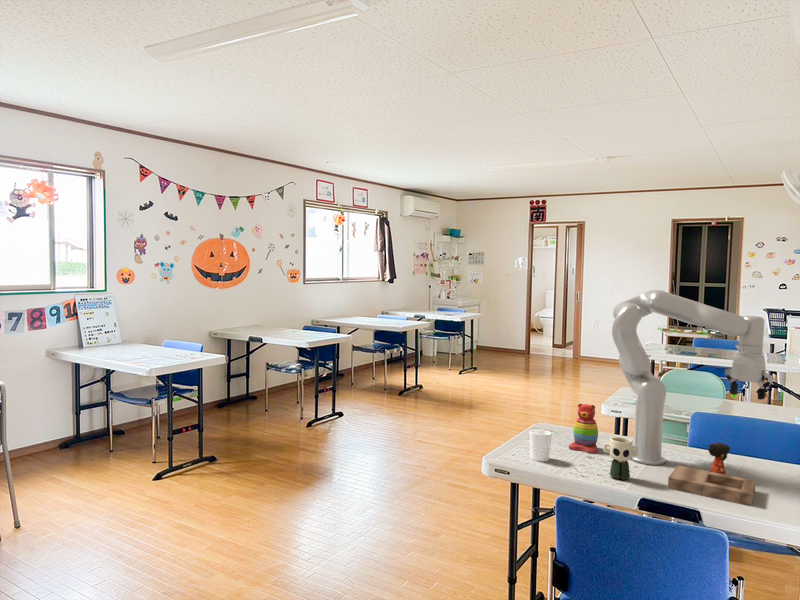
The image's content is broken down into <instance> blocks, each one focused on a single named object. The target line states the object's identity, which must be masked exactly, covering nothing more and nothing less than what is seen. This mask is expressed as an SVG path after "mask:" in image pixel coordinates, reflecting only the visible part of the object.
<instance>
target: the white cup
mask: <svg viewBox="0 0 800 600" xmlns="http://www.w3.org/2000/svg"><path fill="white" fill-rule="evenodd" d="M551 445H552V432H551V431H549V430H546V429H530V430H529V453H530V454H529V456H530V457H529V458H530V459H531V460H532V461H536V462H548V461H549V460H550V451H551Z"/></svg>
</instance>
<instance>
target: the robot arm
mask: <svg viewBox="0 0 800 600" xmlns="http://www.w3.org/2000/svg"><path fill="white" fill-rule="evenodd" d="M652 313H656V314H659V315H662V316H664V317H668V318H671V319H675V320H678V321H680V322H682V323H687V324H690V325H694V326H700V327H705V328H708V329H712V330H716V331H717V332H719V334H723V335H728V336H732V337H738V344H735V347H734V348H735V350H737V351H736V352H735V353H734V356H733V357H734V358H733V359H732V367H729V368H727V369H724V370H723V371H724V374H725V377H726V379H727V380H728V382H729V383H730V387H729V389H730V390H729V391H730V395H737V394H738V387H739V384H738V381H744V382H749V383H756V384H757V385H758V386H759V388H758V389H757V399H758V400H765V398H766V396H767V395H766V393H767V392H766V391H767V389H768V388H769V387H770V386H771V385H772V384H773V382H774V381H775V379H776V378H775V377H774V376H773V375H771V374H769V373H768V372H766V371H767V369H766V359H765V355H764V354H763V349H764V348H763V347H764V335H765V334H764V333H765V319H764V317H762V316H756V315H754V316H753V315H739V314H737V313H734V312H730V311H727V310H724V309H720V308H717V307H714V306H711V305H707V304H705V303H702V302H699V301H695V300H693V299H689V298H686V297H682V296H680V295H677V294H673V293H672V292H671V293H670V292H667V291H663V290H659V289H657V290H656V289H654V290H652V289H651V290H647V291H646V292H644V293H641V294H638V295H636V296H633V297H631V298H630V299H626V300H623V301H622V302H619V303H618V304H617V305H615V307H614V308H613V312H612V314H613V315H612V316H613V318H614V321H613V323H612V326H611V327H612V328H611V329H612V330H611V336H612V339H613V341H614V342H613V343H614V344H615V346H616V349H617V351H618V354H619V356H618V364H619V367H620V369H621V371H622V373H623V375H624V377H625V379H626V381H627V384H628V385H629V386H630V387H629V388H630V389H631V390H632V391H633V393H634V394H635V395H637V400H636V405H635V412H634V413H635V414H634V415H635V417H634V418H635V419H634V434H633V435H634V436H633V437H634V438H633V439H634V440H633V444H632V446H636V447H638V456H632V458H631V460H630V461H633V462H636V463H640V464H644V465H650V466H660V465H664V464H666V463H667V462H666V460H667V459H666V458H665V457H663V456H662V446H663V425H664V424H663V423H664V410H665V409H664V408H665V402H666V398H667V397H666V396H667V390H666V386H665V384H664V382H663V381H662V380H661V379H660V378H657V377H656V376H654V374H653V373H652V371H651V359H650V357H649V355H648V353H647V352H646V351H645V348H644V347H643V344H642V343H641V341H640V338H639V336H638V332H637V328H638V325H639V324H640V322H641V320H642V318H644V317H647V316H648V315H650V314H652ZM766 379H767V381H766ZM765 381H766V382H765ZM632 453H635V449H632Z"/></svg>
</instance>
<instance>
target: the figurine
mask: <svg viewBox="0 0 800 600" xmlns="http://www.w3.org/2000/svg"><path fill="white" fill-rule="evenodd" d="M730 450H731V447H730V446H728V445H727V444H725V443H722V442H716V443H712V444H711V443H710V444H708V449H707V451H708V453H709V455H710V456H711V457H714V459H713V461H712V464H711V466H710V470H711V472H714V473H719V474H724V475H727V474H726V473H727V471H726V469H725V463H724V461H725V460H726V459H727V458H728V454H729V452H730Z"/></svg>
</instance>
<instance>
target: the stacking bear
mask: <svg viewBox="0 0 800 600" xmlns="http://www.w3.org/2000/svg"><path fill="white" fill-rule="evenodd" d="M577 415H578V417H577V418H576V421H575V422H574V426H573V433H572V434H573V439H574V441H573V442H571V443H569V445H568V449H569V450H572V451H578V452H583V453H584V452H585V453H587V454H590V455H591V454H593V455H595V454H597V453H598V451H599V449H598V448H599V447H598V446H597V442H598V439H599V438H598V437H599V429H598V424H597V421H596V420H595V416H596V406H595V405H594V404H585V403H584V404H583V403H578V405H577Z"/></svg>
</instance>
